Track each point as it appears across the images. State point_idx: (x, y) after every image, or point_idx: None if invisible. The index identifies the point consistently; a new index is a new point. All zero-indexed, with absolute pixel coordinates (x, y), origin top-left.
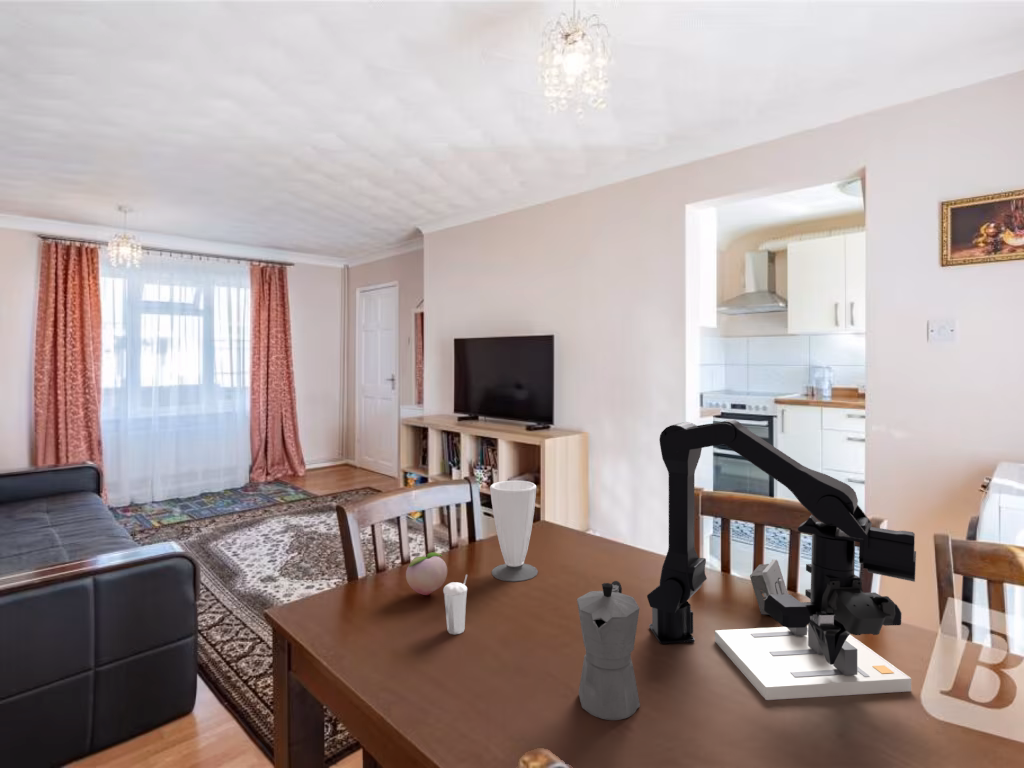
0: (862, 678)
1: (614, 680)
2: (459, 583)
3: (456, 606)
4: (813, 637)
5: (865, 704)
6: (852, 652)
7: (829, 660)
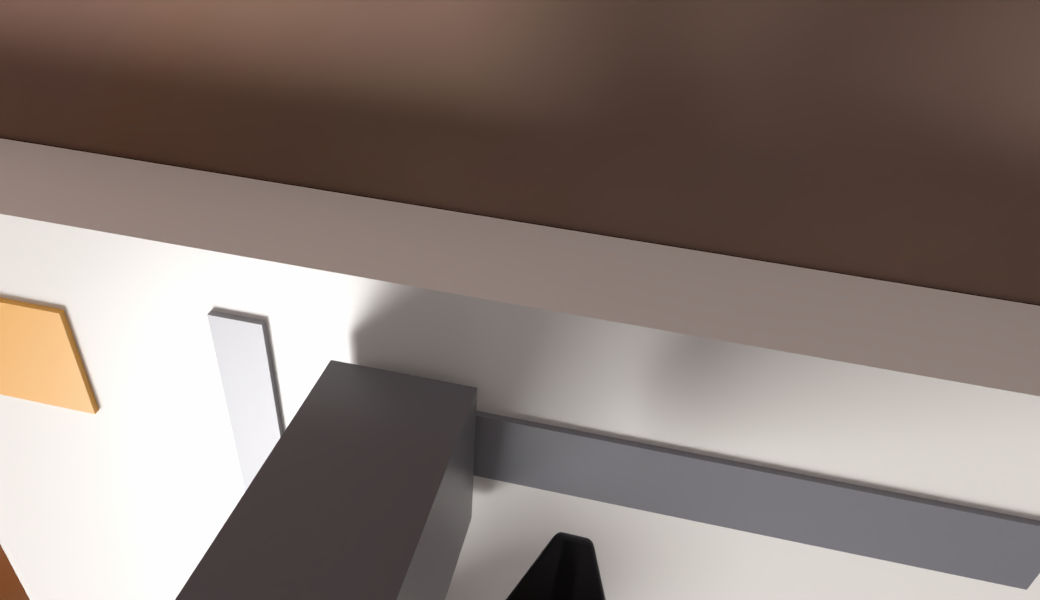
0: (304, 309)
1: None
2: None
3: None
4: None
5: (480, 59)
6: None
7: (598, 591)
